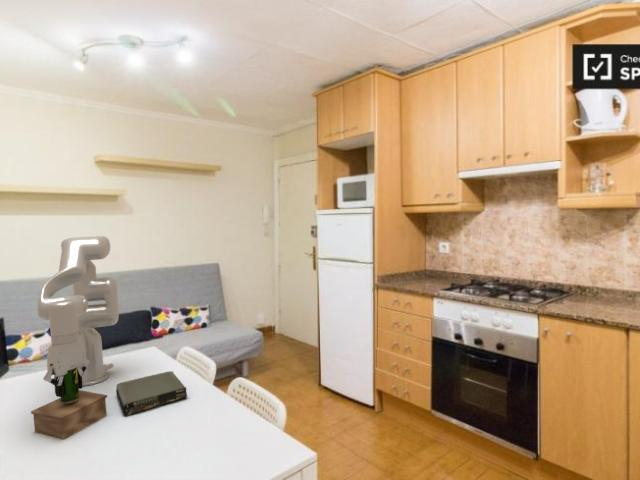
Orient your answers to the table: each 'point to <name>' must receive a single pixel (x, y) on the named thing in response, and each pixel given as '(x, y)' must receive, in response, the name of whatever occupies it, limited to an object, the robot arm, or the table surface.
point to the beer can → (70, 386)
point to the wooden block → (69, 415)
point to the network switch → (149, 392)
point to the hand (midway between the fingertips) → (69, 391)
